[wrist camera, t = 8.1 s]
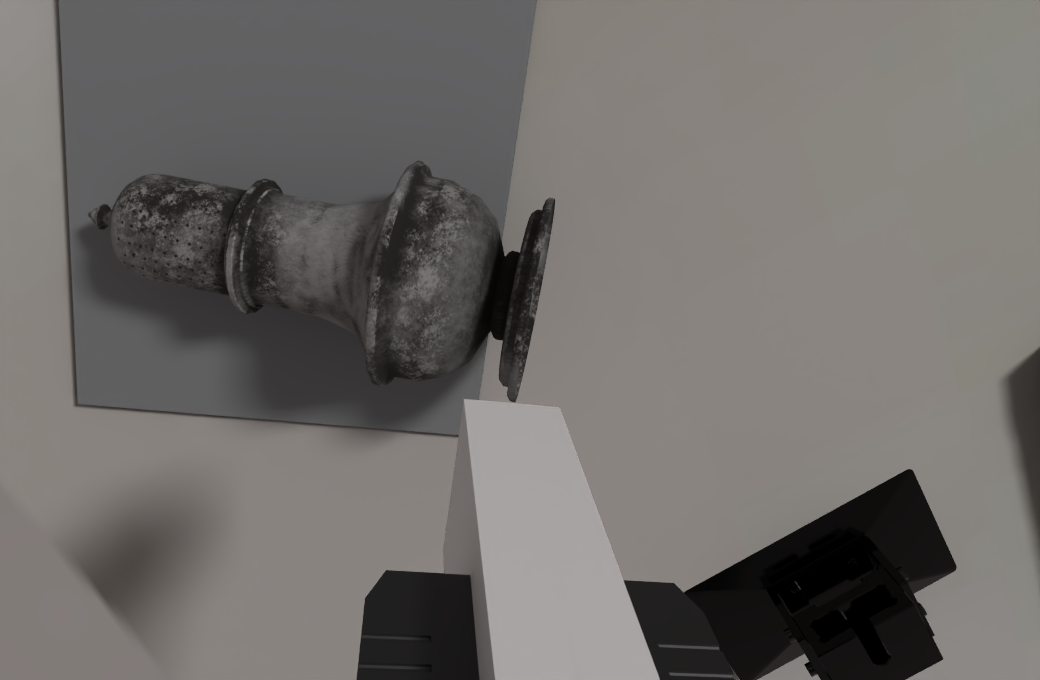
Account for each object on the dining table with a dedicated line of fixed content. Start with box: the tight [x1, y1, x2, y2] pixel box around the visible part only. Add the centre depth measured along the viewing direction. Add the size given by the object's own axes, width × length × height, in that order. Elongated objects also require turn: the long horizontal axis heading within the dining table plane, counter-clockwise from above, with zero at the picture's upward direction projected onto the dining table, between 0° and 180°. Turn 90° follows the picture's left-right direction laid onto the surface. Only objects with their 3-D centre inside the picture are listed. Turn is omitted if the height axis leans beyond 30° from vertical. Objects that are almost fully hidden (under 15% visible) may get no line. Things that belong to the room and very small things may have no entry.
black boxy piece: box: [684, 469, 956, 680], centre depth 29 cm, size 12×7×5 cm, turn 121°
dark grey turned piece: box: [88, 161, 555, 402], centre depth 21 cm, size 6×6×12 cm
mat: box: [59, 0, 537, 435], centre depth 22 cm, size 16×12×1 cm
